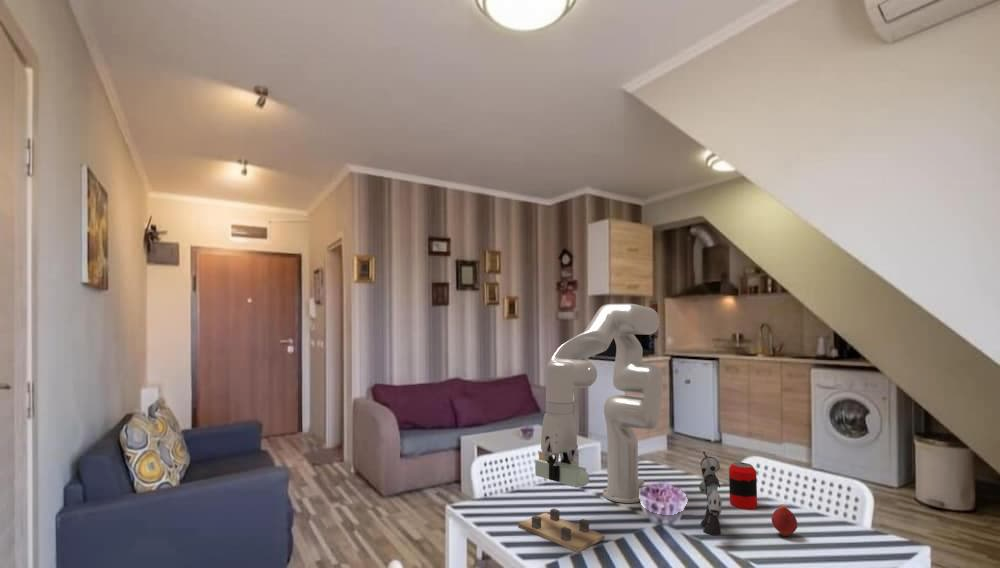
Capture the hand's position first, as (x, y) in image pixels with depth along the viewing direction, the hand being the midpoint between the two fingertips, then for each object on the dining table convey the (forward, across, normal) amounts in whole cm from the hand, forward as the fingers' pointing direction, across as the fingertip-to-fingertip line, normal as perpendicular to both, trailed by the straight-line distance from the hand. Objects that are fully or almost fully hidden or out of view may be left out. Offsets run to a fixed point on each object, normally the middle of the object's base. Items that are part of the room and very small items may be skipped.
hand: (559, 477), depth 133 cm
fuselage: (0, 0, 0) cm, 0 cm away
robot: (+14, -32, +26) cm, 44 cm away
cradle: (+14, 0, 0) cm, 14 cm away
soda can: (+14, -57, +25) cm, 64 cm away
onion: (+14, -42, +41) cm, 61 cm away
